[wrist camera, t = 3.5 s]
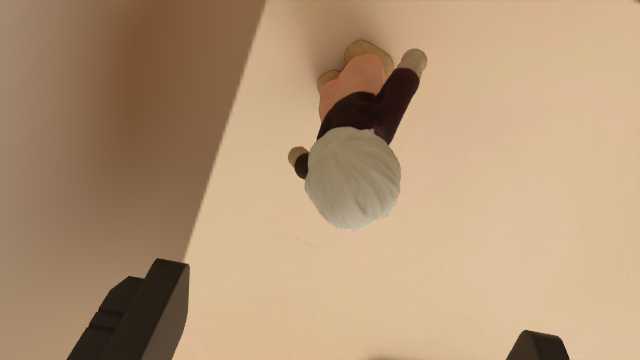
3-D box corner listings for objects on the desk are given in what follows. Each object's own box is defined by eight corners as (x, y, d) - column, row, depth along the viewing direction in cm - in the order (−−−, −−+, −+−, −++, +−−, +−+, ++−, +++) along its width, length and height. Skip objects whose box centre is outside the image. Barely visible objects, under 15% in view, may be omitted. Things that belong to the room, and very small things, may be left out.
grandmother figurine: (348, 143, 29) (335, 302, 19) (292, 108, 29) (244, 252, 18) (436, 34, 26) (483, 152, 15) (375, -11, 25) (378, 80, 14)
